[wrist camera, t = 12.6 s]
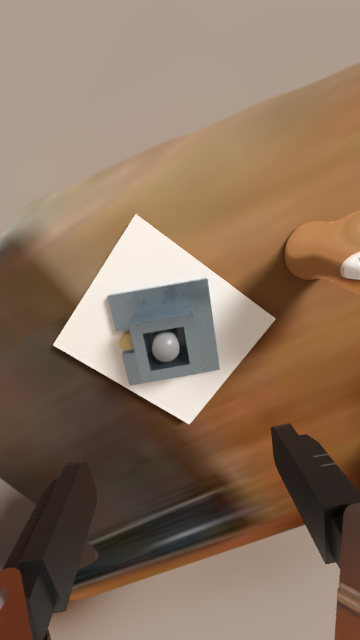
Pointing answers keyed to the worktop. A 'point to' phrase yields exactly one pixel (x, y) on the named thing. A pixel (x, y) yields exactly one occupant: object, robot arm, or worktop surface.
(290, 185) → the worktop surface
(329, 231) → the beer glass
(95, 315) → the post base
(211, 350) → the flange
